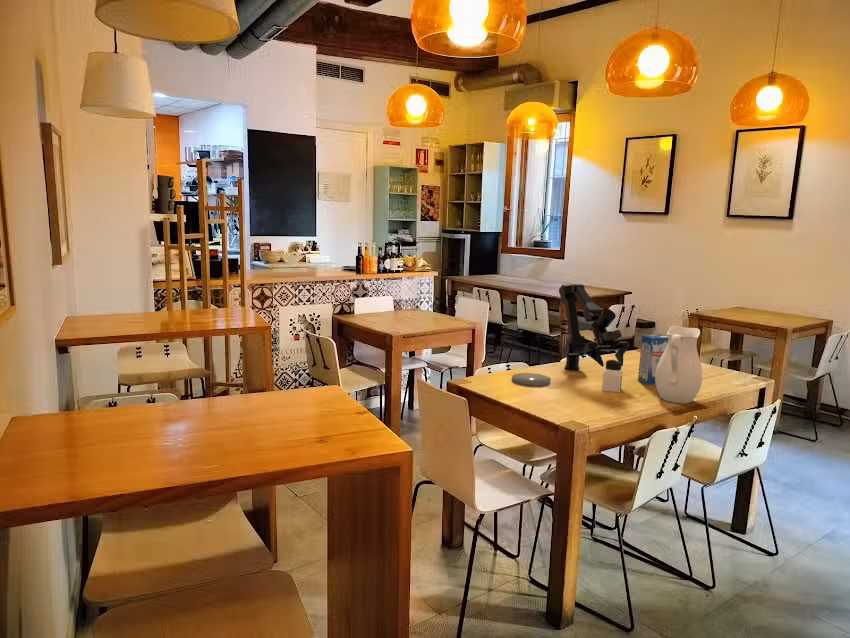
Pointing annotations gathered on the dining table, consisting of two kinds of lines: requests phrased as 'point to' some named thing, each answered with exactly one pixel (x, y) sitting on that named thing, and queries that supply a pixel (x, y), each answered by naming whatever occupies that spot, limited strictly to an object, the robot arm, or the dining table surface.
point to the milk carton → (651, 356)
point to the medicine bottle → (612, 376)
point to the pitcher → (679, 366)
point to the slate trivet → (531, 379)
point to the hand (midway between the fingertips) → (612, 365)
